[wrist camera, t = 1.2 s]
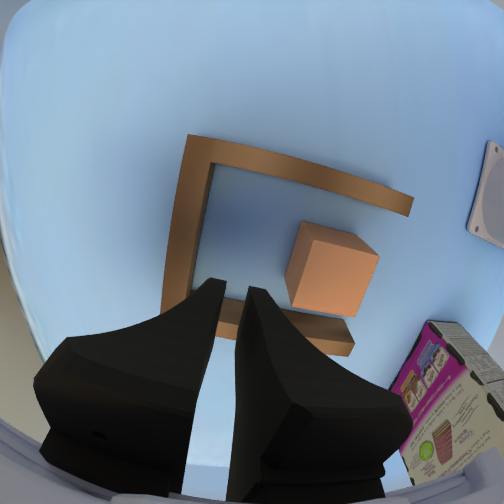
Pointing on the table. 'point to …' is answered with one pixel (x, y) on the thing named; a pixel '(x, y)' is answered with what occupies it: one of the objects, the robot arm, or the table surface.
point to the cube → (329, 270)
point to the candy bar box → (449, 402)
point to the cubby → (193, 211)
